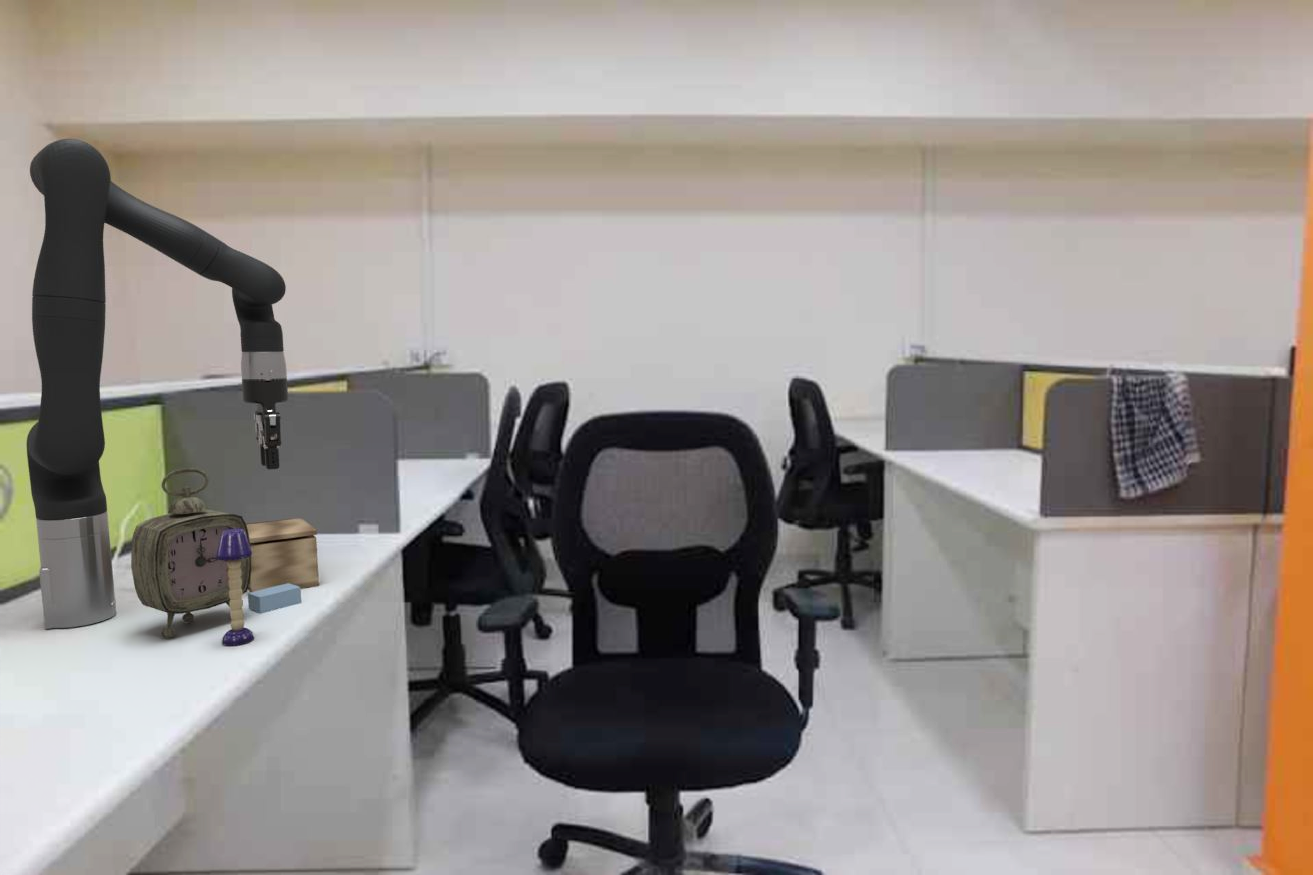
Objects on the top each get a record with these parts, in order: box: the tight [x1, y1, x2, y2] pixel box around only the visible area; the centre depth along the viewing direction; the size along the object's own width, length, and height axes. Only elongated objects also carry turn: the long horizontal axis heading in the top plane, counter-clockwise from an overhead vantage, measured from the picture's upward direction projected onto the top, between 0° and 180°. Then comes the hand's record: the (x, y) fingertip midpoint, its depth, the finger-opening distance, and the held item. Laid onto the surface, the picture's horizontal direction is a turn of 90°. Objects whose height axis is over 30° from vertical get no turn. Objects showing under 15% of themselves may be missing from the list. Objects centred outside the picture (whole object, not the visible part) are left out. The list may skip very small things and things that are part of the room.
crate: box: [248, 535, 320, 593], centre depth 149 cm, size 11×16×9 cm
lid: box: [246, 518, 318, 543], centre depth 148 cm, size 11×16×1 cm
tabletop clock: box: [130, 467, 251, 639], centre depth 124 cm, size 14×9×25 cm, turn 147°
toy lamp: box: [216, 529, 255, 646], centre depth 117 cm, size 5×5×17 cm
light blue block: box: [247, 583, 302, 614], centre depth 134 cm, size 7×4×3 cm, turn 143°
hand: (270, 466), depth 149 cm, fingers open, 5 cm apart
